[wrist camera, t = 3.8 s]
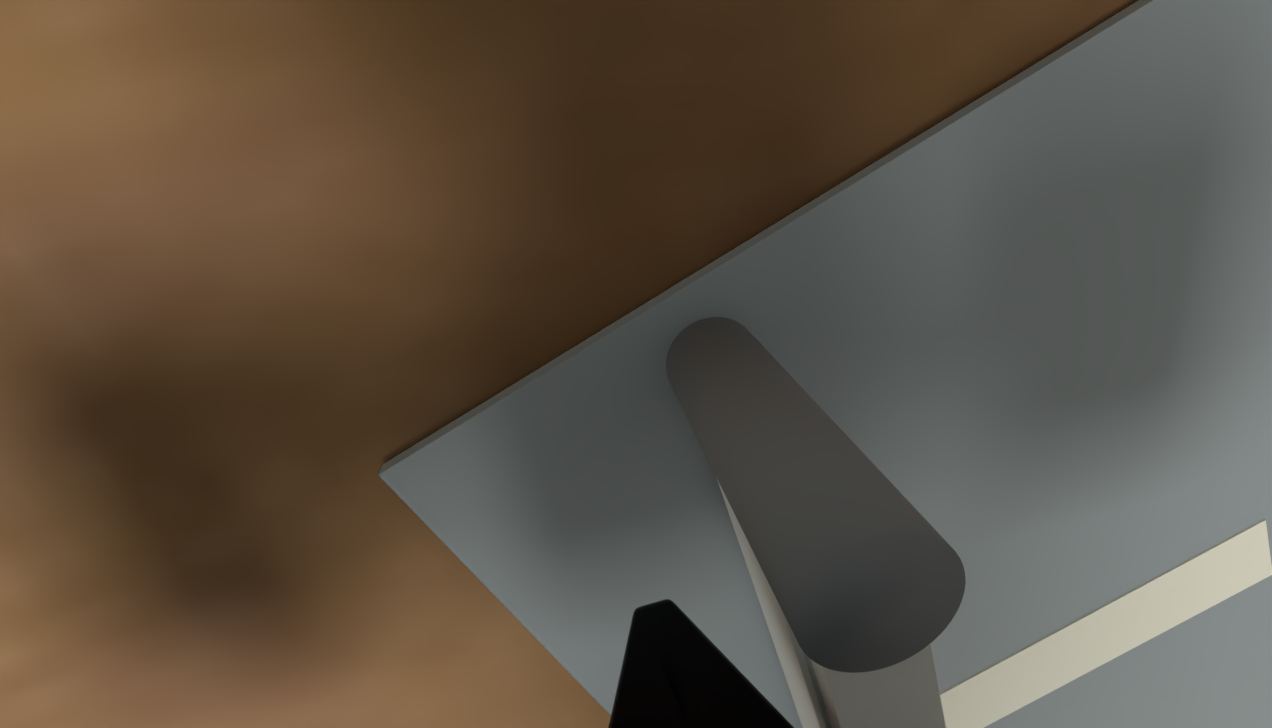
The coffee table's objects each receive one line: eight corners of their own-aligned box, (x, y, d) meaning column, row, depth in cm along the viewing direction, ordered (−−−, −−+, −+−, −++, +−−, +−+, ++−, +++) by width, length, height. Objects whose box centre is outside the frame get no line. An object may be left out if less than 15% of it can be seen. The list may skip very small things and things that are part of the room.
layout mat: (1373, 759, 18) (1388, 770, 18) (892, 999, 20) (898, 1014, 19) (1345, -128, 9) (1377, -136, 8) (382, 464, 10) (377, 477, 9)
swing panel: (866, 738, 13) (1034, 1059, 9) (804, 761, 13) (942, 1095, 9) (744, 302, 9) (955, 504, 5) (653, 337, 9) (775, 573, 5)
